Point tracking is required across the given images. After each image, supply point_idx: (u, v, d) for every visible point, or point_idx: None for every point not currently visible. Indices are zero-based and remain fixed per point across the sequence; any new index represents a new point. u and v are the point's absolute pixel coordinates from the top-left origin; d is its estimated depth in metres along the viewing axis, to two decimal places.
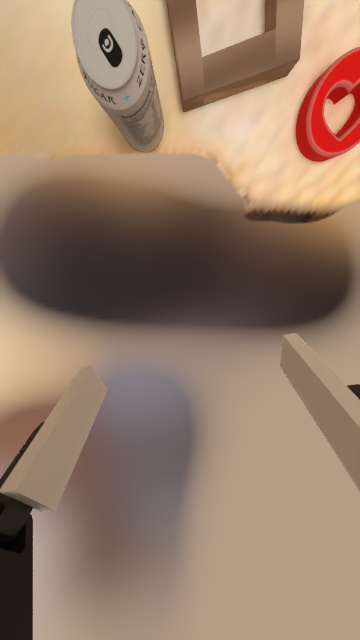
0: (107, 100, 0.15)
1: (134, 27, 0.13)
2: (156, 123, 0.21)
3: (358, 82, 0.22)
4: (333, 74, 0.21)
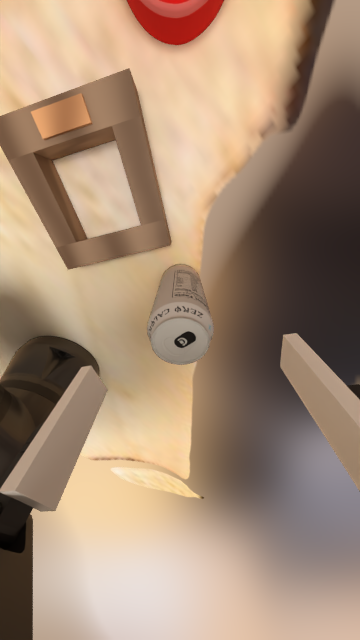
0: None
1: (174, 319, 0.13)
2: (194, 279, 0.21)
3: None
4: None
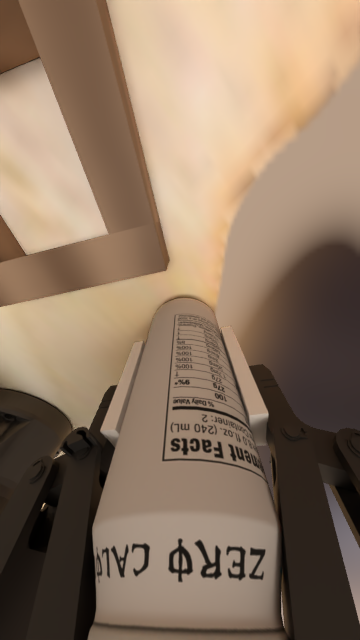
0: None
1: None
2: (212, 339, 0.11)
3: None
4: None
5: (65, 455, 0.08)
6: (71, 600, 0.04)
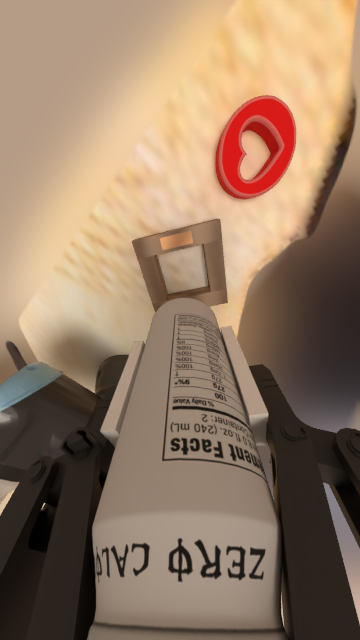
0: None
1: None
2: (212, 339, 0.11)
3: (241, 146, 0.22)
4: (233, 180, 0.24)
5: (65, 455, 0.08)
6: (71, 600, 0.04)
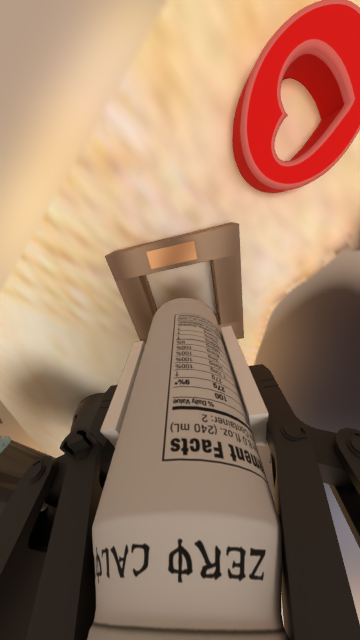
0: None
1: None
2: (212, 339, 0.11)
3: (280, 101, 0.13)
4: (262, 161, 0.15)
5: (65, 455, 0.08)
6: (72, 599, 0.04)
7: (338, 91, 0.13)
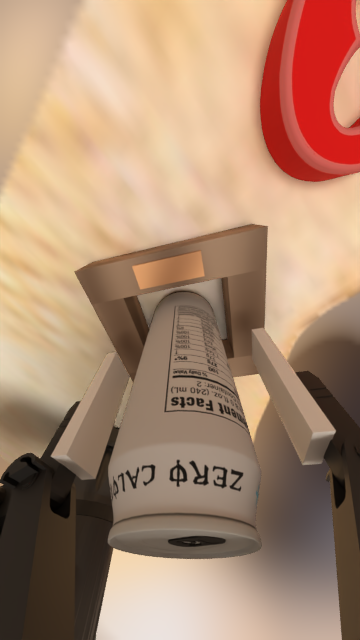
0: None
1: (166, 528, 0.04)
2: (208, 327, 0.12)
3: (354, 16, 0.08)
4: (312, 127, 0.09)
5: None
6: (14, 633, 0.04)
7: None
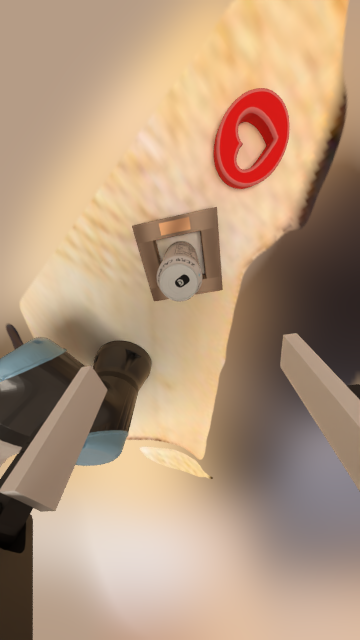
0: (198, 287, 0.23)
1: (175, 264, 0.20)
2: (191, 249, 0.28)
3: (238, 136, 0.23)
4: (229, 169, 0.25)
5: None
6: None
7: (270, 132, 0.23)
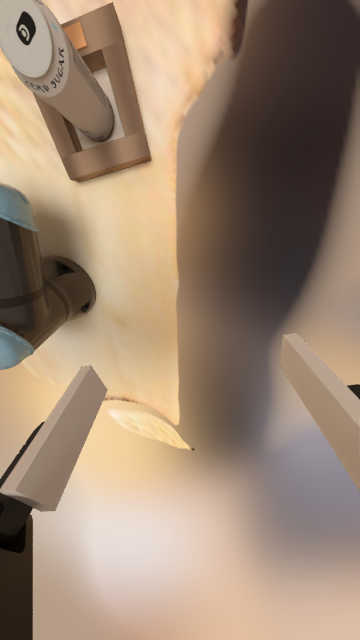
0: (63, 59, 0.17)
1: None
2: None
3: None
4: None
5: None
6: None
7: None
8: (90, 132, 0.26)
